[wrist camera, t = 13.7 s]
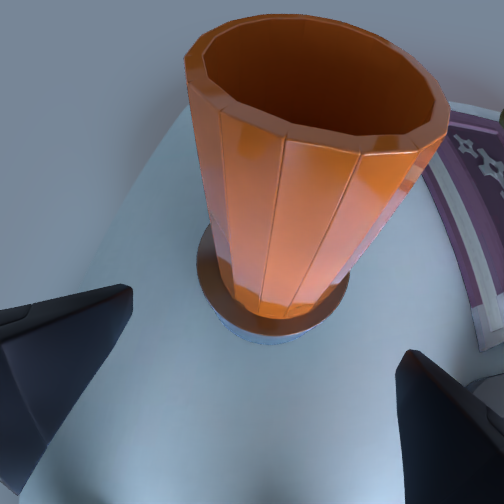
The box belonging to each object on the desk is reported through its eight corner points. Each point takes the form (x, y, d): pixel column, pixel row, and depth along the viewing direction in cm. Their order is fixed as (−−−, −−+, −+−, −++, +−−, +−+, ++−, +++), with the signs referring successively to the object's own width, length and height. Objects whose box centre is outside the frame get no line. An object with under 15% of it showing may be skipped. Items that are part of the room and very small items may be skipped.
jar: (354, 296, 23) (379, 272, 18) (256, 373, 20) (259, 370, 15) (279, 210, 26) (285, 172, 21) (182, 271, 23) (168, 242, 19)
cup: (357, 274, 18) (482, 110, 6) (265, 343, 16) (319, 215, 4) (288, 194, 20) (322, 6, 9) (197, 247, 18) (144, 46, 7)
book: (396, 133, 31) (411, 102, 26) (482, 143, 32) (498, 120, 27) (477, 354, 20) (514, 342, 16) (553, 314, 21) (581, 300, 17)
